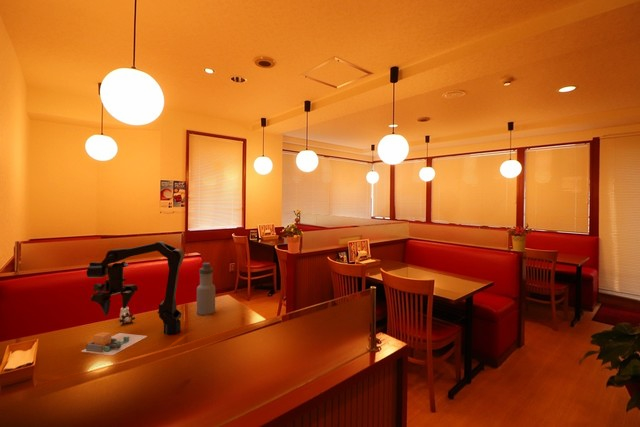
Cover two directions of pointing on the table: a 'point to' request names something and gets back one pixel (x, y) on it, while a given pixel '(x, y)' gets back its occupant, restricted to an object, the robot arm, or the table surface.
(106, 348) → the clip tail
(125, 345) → the board
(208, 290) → the water bottle
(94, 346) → the end holder
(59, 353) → the table surface
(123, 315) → the valve
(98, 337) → the block
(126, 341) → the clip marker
